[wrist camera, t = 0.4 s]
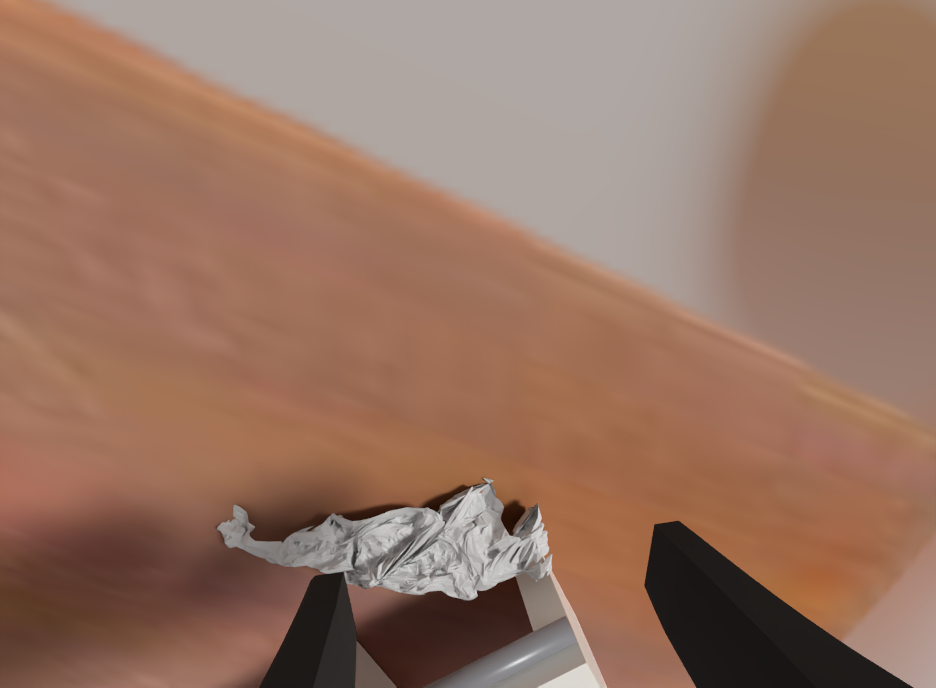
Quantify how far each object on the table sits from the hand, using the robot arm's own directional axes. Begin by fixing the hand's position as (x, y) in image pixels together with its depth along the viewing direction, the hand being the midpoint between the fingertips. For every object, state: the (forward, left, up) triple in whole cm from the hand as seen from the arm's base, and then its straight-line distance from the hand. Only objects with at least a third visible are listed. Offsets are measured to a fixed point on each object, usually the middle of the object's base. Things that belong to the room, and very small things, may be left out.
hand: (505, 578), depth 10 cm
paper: (-6, -5, -11) cm, 13 cm away
